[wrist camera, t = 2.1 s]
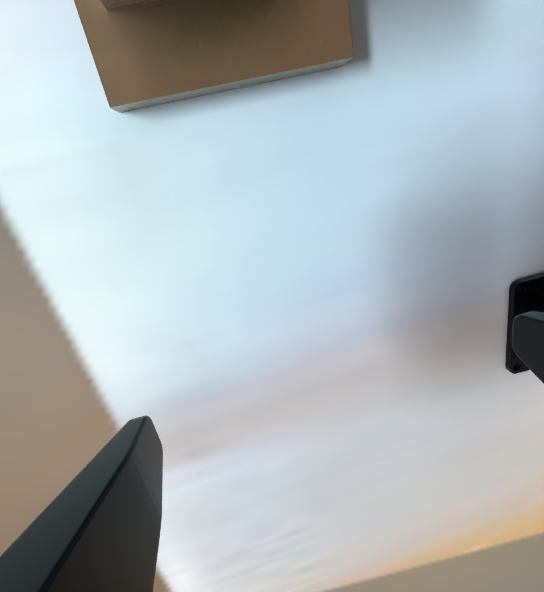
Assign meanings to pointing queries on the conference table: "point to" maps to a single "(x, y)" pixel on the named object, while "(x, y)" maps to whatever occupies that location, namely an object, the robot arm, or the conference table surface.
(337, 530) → the conference table surface
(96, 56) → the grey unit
